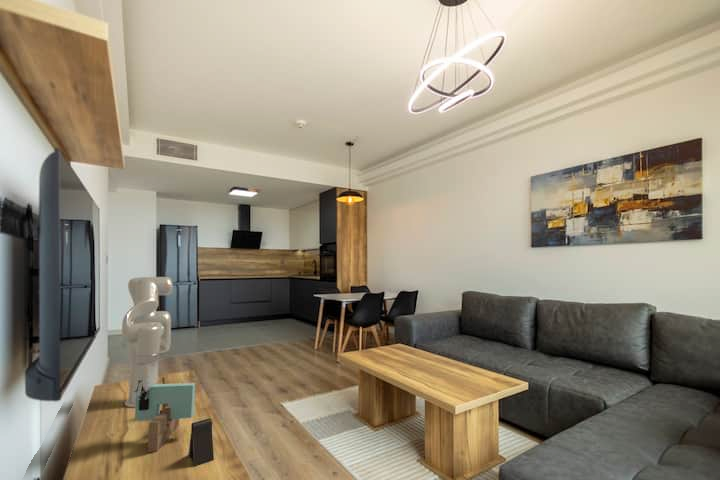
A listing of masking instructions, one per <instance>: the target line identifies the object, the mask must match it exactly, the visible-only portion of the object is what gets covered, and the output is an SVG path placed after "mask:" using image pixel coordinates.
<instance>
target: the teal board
mask: <svg viewBox="0 0 720 480" xmlns="http://www.w3.org/2000/svg"><path fill="white" fill-rule="evenodd" d="M143 390H145V389H143ZM144 394H145V393H144ZM136 395H137V392H136ZM195 397H196V382H179V383H167V384H163V383H157V384H154V385H153V386H151V389H150V390H148V398H149V409H148V410H139V397H137V396H136V406H135V407H134V421H148V420H149V421H151V420H152V419H154V418H155V417H156V416H157V415H158V414H160V410H161V405H162V404H171V414H170V419H176V418H179V419H191V418H193V416H194V415H195V402H196V401H195V400H196V399H195Z"/></svg>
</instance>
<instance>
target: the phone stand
mask: <svg viewBox="0 0 720 480" xmlns="http://www.w3.org/2000/svg"><path fill="white" fill-rule="evenodd" d="M212 420H213V419H211V418H205V419H203V420H198V421H196V422H192V423H191V427H190V429H191V430H190V431H191V433H190V436H189V437H190V439H189V446H188V452H187V453H188V454H187V455H188V457H189V458H190V461H191V462H192V464H193V466H194V467H196V466H199V465H202V464H205V463H208V462H211V461H213V460H215V458H214V442H213V421H212Z"/></svg>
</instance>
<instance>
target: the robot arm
mask: <svg viewBox="0 0 720 480" xmlns="http://www.w3.org/2000/svg"><path fill="white" fill-rule="evenodd" d="M127 286H128V293H129V296H130V297H131V299H132V302H133V306H132V307H131V308H130V309H129V310H128V311H127V312H126V313H125V315H124V316H123V318H122V324H121V325H122V326H121V327H122V328H121V339H122V341H123V342H124V343H125V344H128V354H129V385H128V386H129V388H128V399H126V400H125V401H124V406H125V407H127V408H135V406H136V396H137V397H139V410H148V409H149V398H148V390H150V389H151V386H153V385H154V384H158V382H159V362H160V354H163V353H167V352H168V351H170V348H171V345H172V343H171V341H172V339H171V338H172V317H171V313H170V312H169V311H166V310H159V311H156V310H157V309H158V307H159V305H160V304H159V302H160V301H159V296H169V295H172V293H173V289H174V283H173V280H172V278H170V276H141V277H134V278H131V279H129V281H128V283H127ZM143 389H145V390H143ZM136 392H137V395H136ZM144 393H145V394H144Z"/></svg>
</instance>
